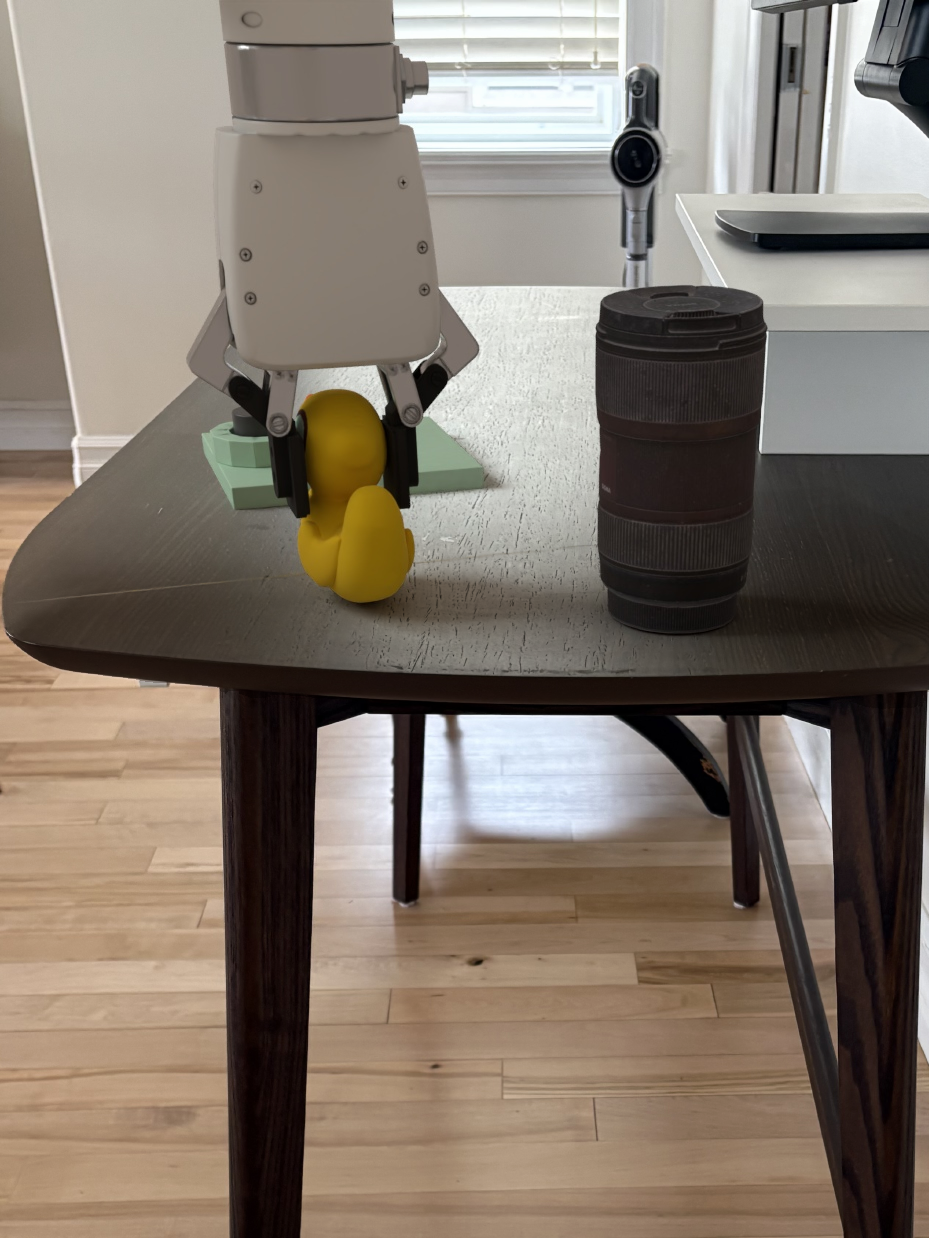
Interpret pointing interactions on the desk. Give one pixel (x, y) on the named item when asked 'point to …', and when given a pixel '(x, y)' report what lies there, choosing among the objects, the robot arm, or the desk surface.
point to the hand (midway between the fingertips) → (348, 502)
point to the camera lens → (677, 451)
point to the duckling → (350, 500)
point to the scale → (251, 482)
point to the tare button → (247, 424)
